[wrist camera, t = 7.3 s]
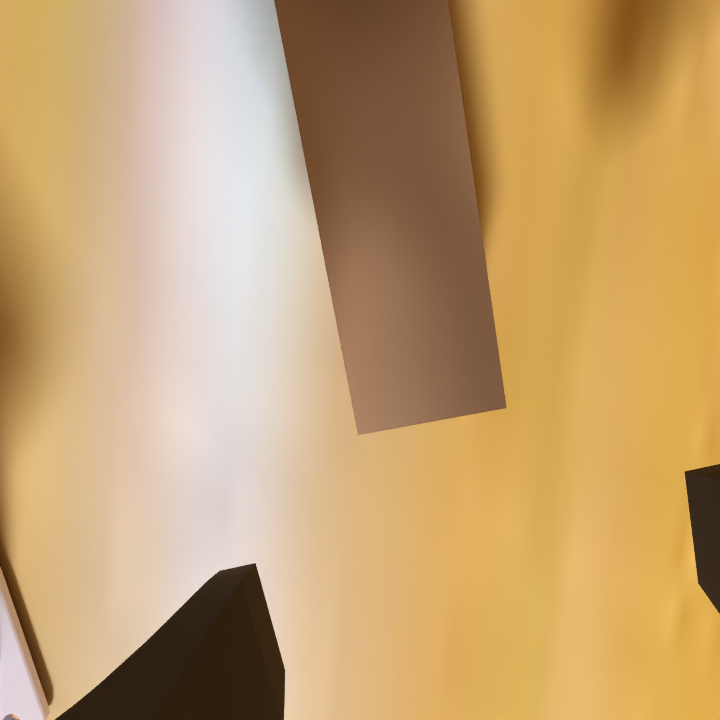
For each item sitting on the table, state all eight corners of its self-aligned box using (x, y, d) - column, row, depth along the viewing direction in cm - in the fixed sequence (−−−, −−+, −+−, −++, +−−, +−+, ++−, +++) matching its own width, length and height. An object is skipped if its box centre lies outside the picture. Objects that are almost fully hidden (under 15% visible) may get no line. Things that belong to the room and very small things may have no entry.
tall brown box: (354, 380, 19) (358, 435, 14) (259, -122, 16) (222, -273, 11) (464, 360, 19) (506, 408, 14) (386, -147, 16) (404, -309, 11)
